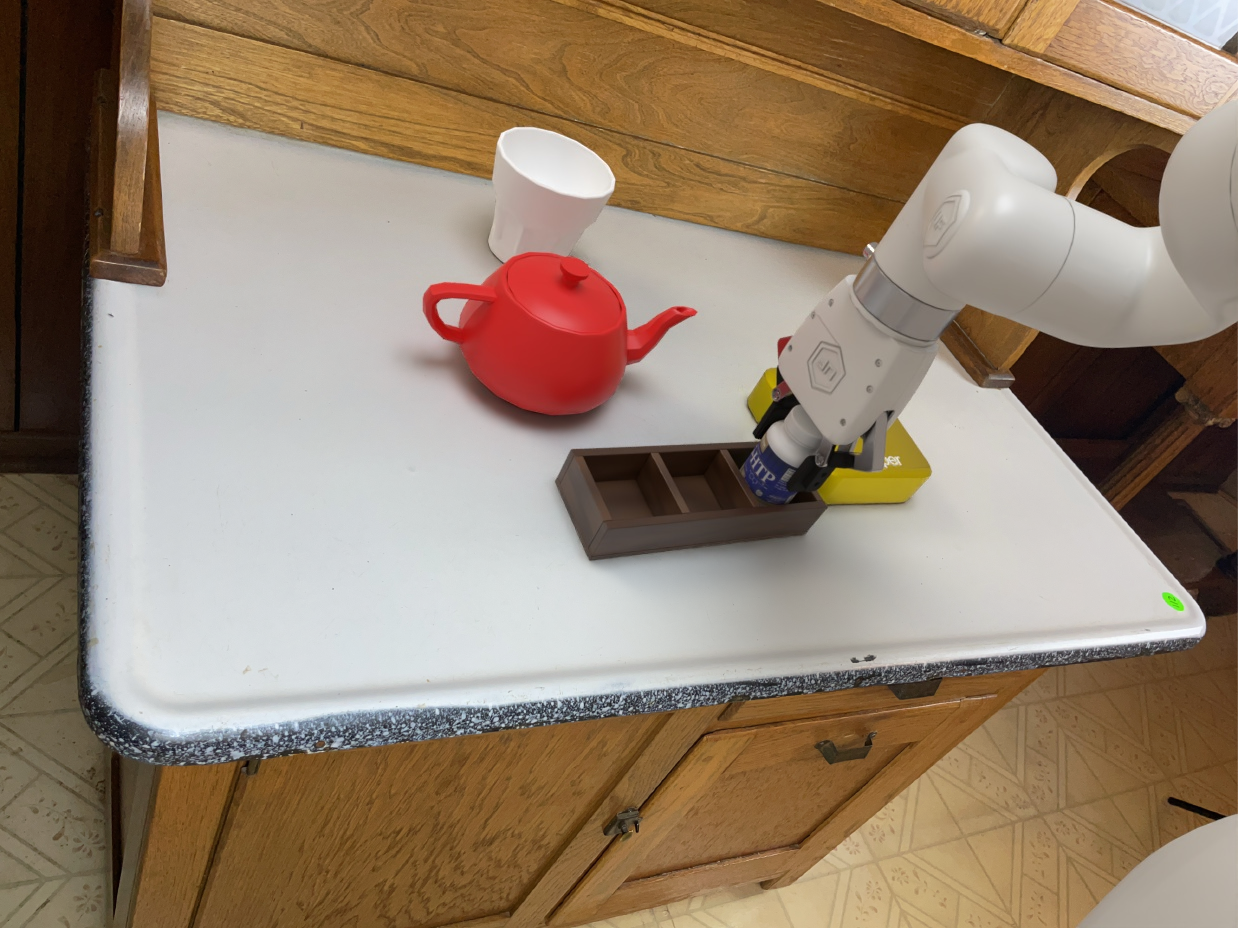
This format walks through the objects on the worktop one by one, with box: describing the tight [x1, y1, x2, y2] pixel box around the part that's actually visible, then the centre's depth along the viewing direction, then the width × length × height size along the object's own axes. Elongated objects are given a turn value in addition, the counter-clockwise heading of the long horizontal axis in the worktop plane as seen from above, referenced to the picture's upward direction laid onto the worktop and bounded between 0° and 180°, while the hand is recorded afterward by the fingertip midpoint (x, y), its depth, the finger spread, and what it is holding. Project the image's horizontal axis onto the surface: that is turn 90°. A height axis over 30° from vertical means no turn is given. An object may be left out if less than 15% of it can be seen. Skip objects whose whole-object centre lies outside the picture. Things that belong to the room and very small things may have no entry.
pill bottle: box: [739, 405, 823, 507], centre depth 74 cm, size 5×5×9 cm
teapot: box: [422, 252, 698, 416], centre depth 76 cm, size 25×16×12 cm, turn 107°
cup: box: [487, 126, 616, 264], centre depth 89 cm, size 12×12×11 cm
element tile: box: [747, 367, 933, 505], centre depth 87 cm, size 15×15×5 cm
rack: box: [554, 440, 829, 561], centre depth 73 cm, size 8×23×4 cm, turn 114°
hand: (783, 460), depth 74 cm, fingers closed on pill bottle, 5 cm apart
